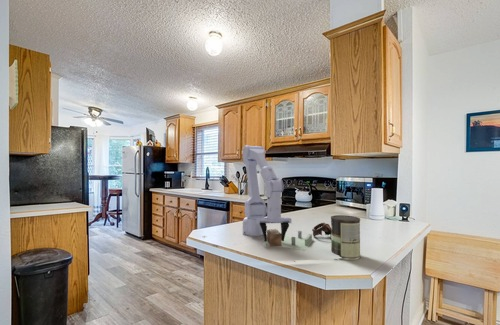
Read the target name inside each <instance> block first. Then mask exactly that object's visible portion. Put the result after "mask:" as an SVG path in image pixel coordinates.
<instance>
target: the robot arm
mask: <svg viewBox="0 0 500 325" xmlns="http://www.w3.org/2000/svg"><path fill="white" fill-rule="evenodd" d="M242 161H243V162H242V163H243V164H245V169H246V170H245V171H246V177H247V186H248V195H249V197H248V199H246V200H245V201H244V211H243V212H244V215H245V217H244V218H243V220H242V235H246V236H251V237H259V236H263V241H264V242H266V241H267V230H268V226H267V224H280V229H281V230H280V233H281V240H282V241H284V237H285V236H286V235H287V234H286V233H287V231H288V229H289V227H290V224H292V218H291V217H282V197H281V196H282V193H283V192H284V187H285V186H284V185H285V184H284V181H283V179H280V177H278V176H277V175H276V172H275V171H274V169H273V167H271V166H269V164H268V162H267V159H266V150H265V147H264V146H259V145H258V146H257V145H247V144H245V145H244V146H243V148H242ZM257 165H258V167H259V168H260V175H261V177H262V179H263V181H264V191H265V196H266V200H267V202H266V201H265V199H263V198H262V197H261V195H260V188H259V180H258V179H259V178H258V170H257ZM266 203H267V204H266Z"/></svg>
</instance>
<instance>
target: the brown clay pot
mask: <svg viewBox="0 0 500 325" xmlns="http://www.w3.org/2000/svg"><path fill="white" fill-rule="evenodd" d="M311 230H312V231H311V232H312V237H314V238H315V237H317V236H319V235H320V236H323V232H324V234H325V236H331V224H329V223H325V222H320V223H318V224H317V225H315V226H314V227H313V228H312V229H311Z"/></svg>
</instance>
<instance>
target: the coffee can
mask: <svg viewBox="0 0 500 325" xmlns="http://www.w3.org/2000/svg"><path fill="white" fill-rule="evenodd" d="M330 223H331V224H330V227H331V235H330V239H331V244H330V245H331V246H330V247H331V250H330V251H331V253H332V254H334V255H335V256H336V255H337V256H338V257H339V258H338V259H339V260H344V261H358V260H359V259H361V218H360V217H357V216H353V215H345V214H343V215H341V214H340V215H337V214H336V215H332V216H330Z"/></svg>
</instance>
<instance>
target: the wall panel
mask: <svg viewBox="0 0 500 325" xmlns="http://www.w3.org/2000/svg"><path fill="white" fill-rule="evenodd" d="M302 235H303V232H302V230H298V231H297V236H292V235H291V236H290V235H285V237H284V241H282V240H281V246H275V247H276V248H277V247H278V248H285V249H292V250H301V251H307V249H308V248H309V246H310V245H311V244H312V242H313V241H314V238H313V233H309V234H308V235H307V236H306V237H302ZM261 245H264V246H270V245H269V243H268V241H266V242H265V241H264V242H263V243H261ZM270 247H271V246H270Z"/></svg>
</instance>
